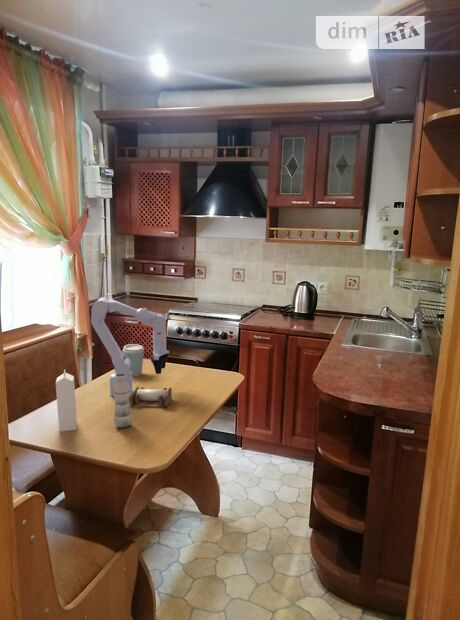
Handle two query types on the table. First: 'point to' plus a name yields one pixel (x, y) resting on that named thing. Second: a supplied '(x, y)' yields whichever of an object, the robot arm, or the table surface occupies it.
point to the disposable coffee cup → (134, 357)
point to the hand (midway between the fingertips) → (160, 370)
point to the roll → (150, 394)
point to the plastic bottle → (122, 402)
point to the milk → (66, 402)
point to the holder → (152, 404)
